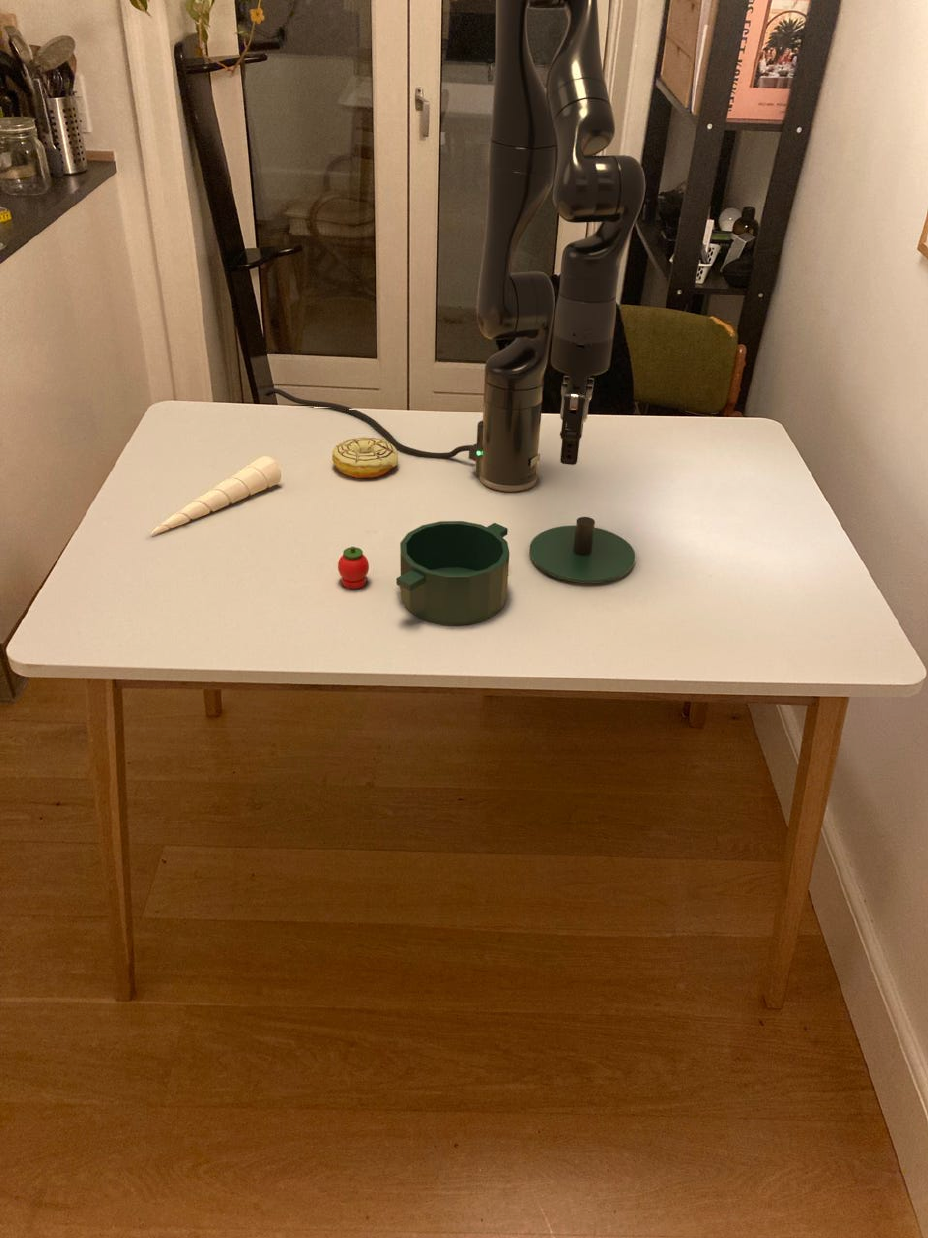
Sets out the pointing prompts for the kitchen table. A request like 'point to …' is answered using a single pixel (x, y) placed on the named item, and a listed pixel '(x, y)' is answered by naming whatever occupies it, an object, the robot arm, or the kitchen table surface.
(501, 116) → the robot arm
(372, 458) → the decorated donut
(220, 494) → the unicorn horn
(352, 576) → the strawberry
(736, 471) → the kitchen table surface
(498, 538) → the pan
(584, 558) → the lid
